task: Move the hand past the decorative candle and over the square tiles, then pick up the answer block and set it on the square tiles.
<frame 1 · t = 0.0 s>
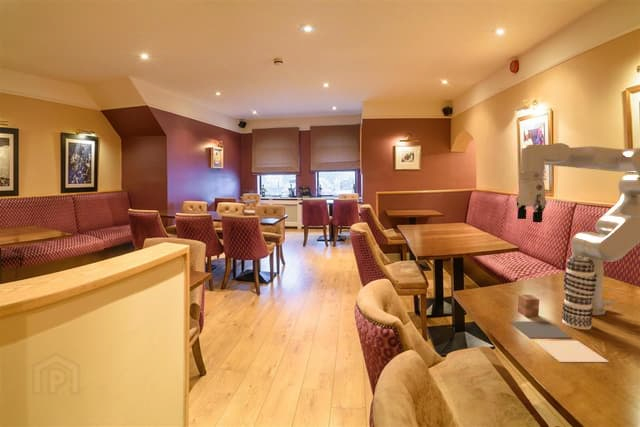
hand: (529, 220, 124), 37 cm above the table, tool pointing down, fingers open, 9 cm apart
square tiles: (553, 339, 105), on the table
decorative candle: (576, 324, 115), on the table
answer block: (527, 314, 125), on the table
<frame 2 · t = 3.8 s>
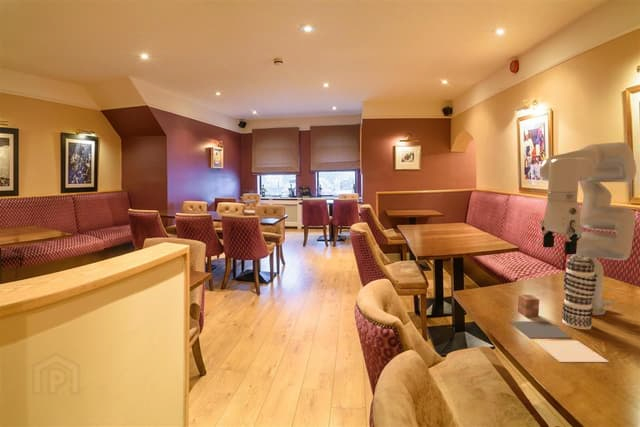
hand: (558, 250, 102), 30 cm above the table, tool pointing down, fingers open, 9 cm apart
nothing on the table moved.
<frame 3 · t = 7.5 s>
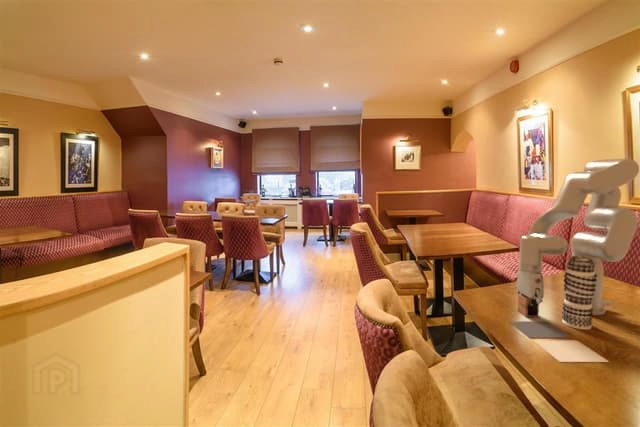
hand: (527, 311, 124), 1 cm above the table, tool pointing down, fingers closed on answer block, 5 cm apart
answer block: (527, 313, 125), on the table, touching gripper
everything else where it was.
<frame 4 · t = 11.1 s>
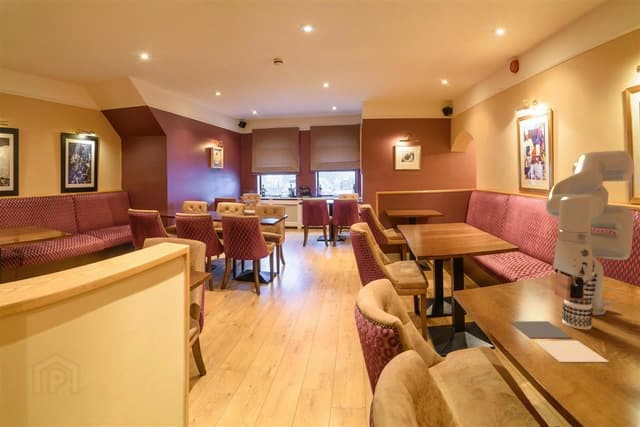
hand: (569, 294, 97), 18 cm above the table, tool pointing down, fingers closed on answer block, 5 cm apart
answer block: (568, 297, 98), point 17 cm above the table, touching gripper
everything else where it was.
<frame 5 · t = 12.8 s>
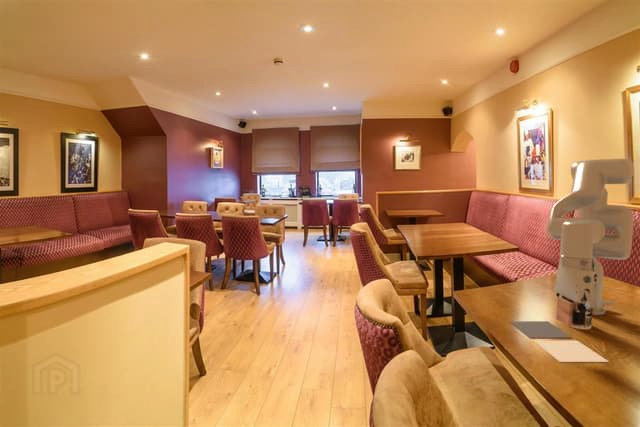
hand: (571, 319, 97), 10 cm above the table, tool pointing down, fingers closed on answer block, 5 cm apart
answer block: (570, 322, 97), point 9 cm above the table, touching gripper
everything else where it was.
when the fingers open (3 cm above the table, at t = 14.6 s): answer block drops 1 cm, resting on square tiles.
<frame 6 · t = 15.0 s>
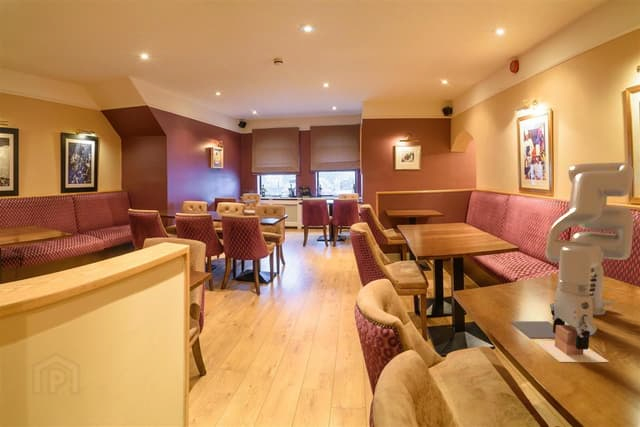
hand: (569, 340, 98), 3 cm above the table, tool pointing down, fingers open, 9 cm apart
answer block: (568, 350, 98), resting on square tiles
everything else where it was.
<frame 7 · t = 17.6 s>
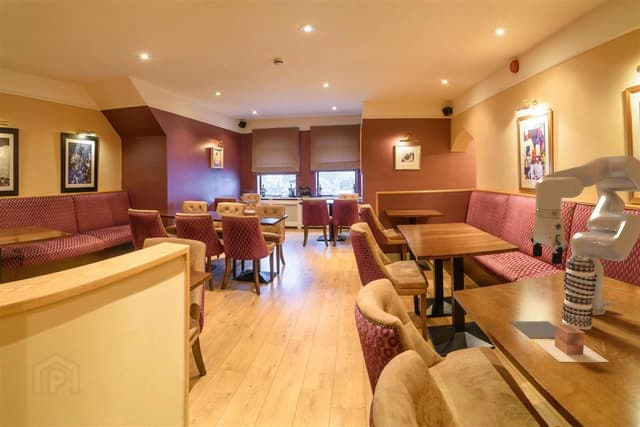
hand: (546, 260, 115), 24 cm above the table, tool pointing down, fingers open, 9 cm apart
nothing on the table moved.
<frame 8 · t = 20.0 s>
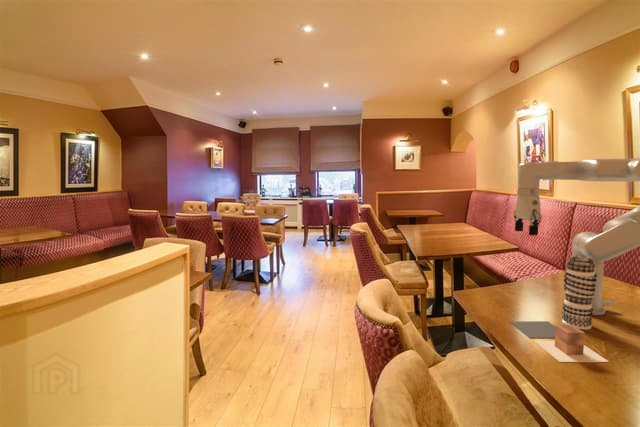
hand: (525, 232, 133), 30 cm above the table, tool pointing down, fingers open, 9 cm apart
nothing on the table moved.
at the end: answer block inside the target area (0.1 cm from its centre), resting on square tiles; answer block tilted 0°; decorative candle moved 0.2 cm from its start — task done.
